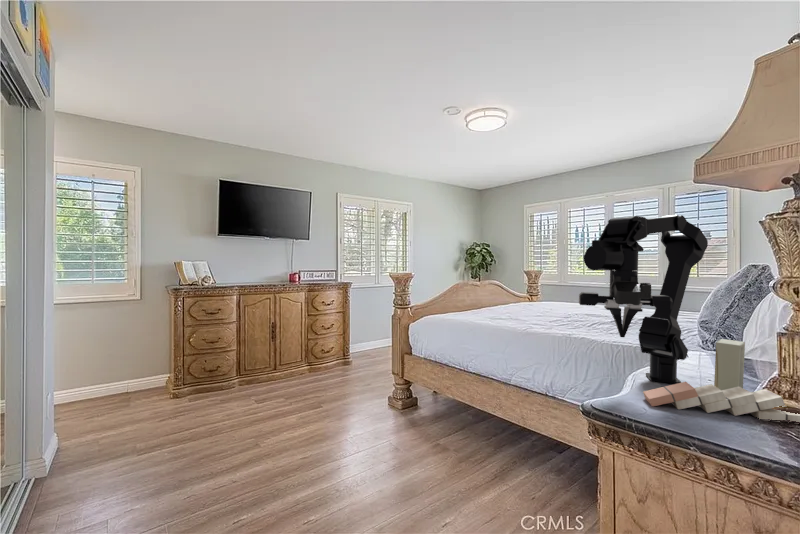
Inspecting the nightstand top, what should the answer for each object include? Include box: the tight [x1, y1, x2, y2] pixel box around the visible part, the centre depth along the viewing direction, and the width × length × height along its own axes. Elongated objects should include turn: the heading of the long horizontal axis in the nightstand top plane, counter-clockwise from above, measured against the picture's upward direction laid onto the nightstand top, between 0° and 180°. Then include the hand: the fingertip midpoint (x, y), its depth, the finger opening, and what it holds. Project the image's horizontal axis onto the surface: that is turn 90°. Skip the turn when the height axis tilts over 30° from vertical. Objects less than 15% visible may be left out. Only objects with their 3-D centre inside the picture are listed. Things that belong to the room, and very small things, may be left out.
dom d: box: [724, 388, 786, 417], centre depth 79 cm, size 5×2×8 cm
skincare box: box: [713, 338, 746, 390], centre depth 90 cm, size 6×4×12 cm
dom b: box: [670, 383, 726, 411], centre depth 82 cm, size 5×2×8 cm
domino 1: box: [642, 381, 698, 407], centre depth 84 cm, size 5×2×8 cm
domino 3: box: [750, 408, 800, 422], centre depth 77 cm, size 5×2×8 cm
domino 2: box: [698, 386, 757, 414], centre depth 80 cm, size 5×2×8 cm
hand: (622, 337), depth 94 cm, fingers closed
